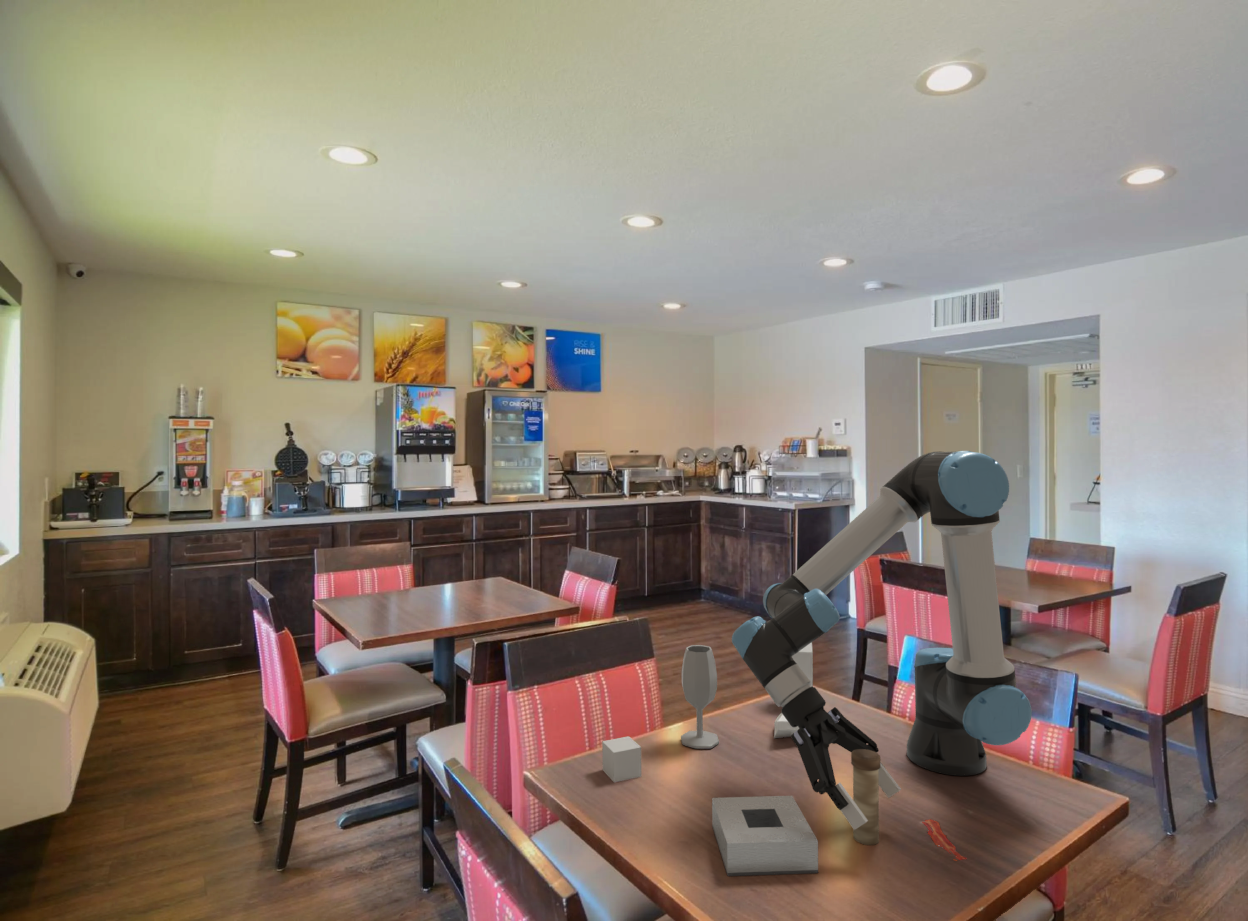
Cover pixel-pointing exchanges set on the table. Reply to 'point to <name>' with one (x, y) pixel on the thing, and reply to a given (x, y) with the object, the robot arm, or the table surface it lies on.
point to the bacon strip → (941, 838)
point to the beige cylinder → (866, 793)
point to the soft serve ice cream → (783, 727)
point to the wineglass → (699, 692)
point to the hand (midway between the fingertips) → (879, 809)
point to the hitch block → (763, 836)
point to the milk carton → (805, 661)
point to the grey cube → (621, 759)
